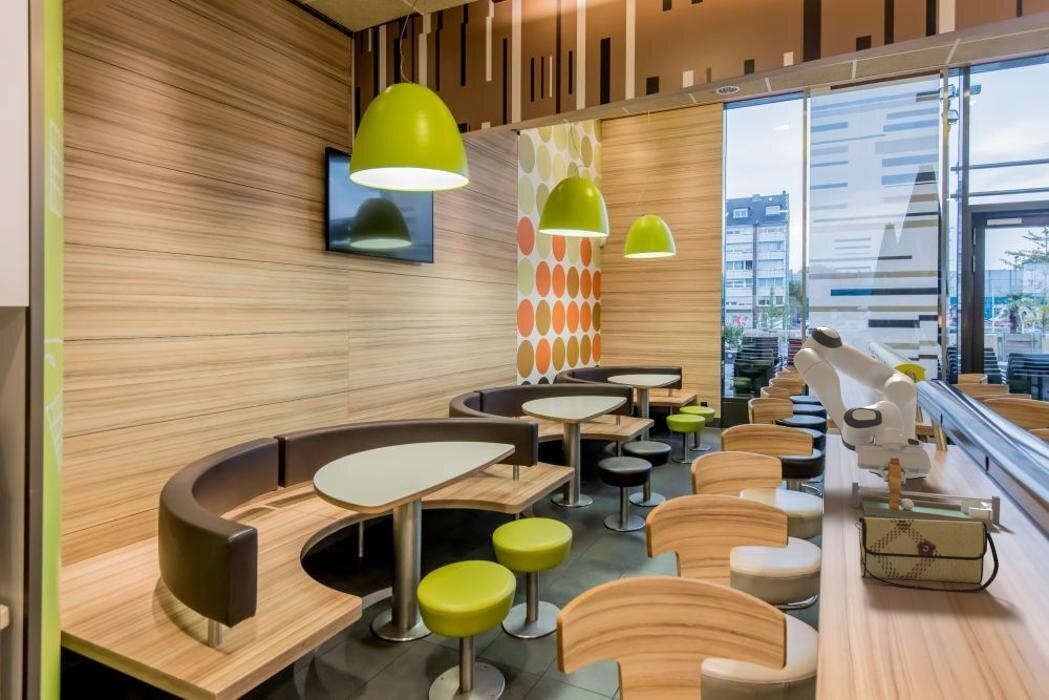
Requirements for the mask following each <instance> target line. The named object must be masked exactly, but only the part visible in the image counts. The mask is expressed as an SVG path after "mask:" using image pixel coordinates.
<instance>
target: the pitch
mask: <svg viewBox="0 0 1049 700" xmlns="http://www.w3.org/2000/svg"><path fill="white" fill-rule="evenodd" d="M851 485H852V486H851V508H853V509H859V491H863V492H874V493H884V494H885V493H886V494H889V493H890V489H889V488H882V487H881V488H878V487H869V486H861V485H860V486H859V482H854V481H853V482H852V483H851ZM899 495H905V496H915V497H925V498H933V499H934V498H935V499H943V500H945V499H946V500H954V501H955V500H956V501H960V504H955V503H946V502H945V503H944V502H936V501H935V502H934V501H928V500H927V501H925V500H916V499H910V500H911V501H912V502H913V503H914V507H913V509H911V510H905V509H903V508H902V507H901V505H900V502H901V500H903V499H904V498H899V509H894V508H890V506H889V504H888V502H889V496H888V497H886V496H877V495H876V496H875V495H868V494H866V495H865V494H861V495H860V496H861V498H860V501H861V502H862V503H861V504H862V508H863V511H864V514H865V515H866V516H873V515H875V516H874V517H882V516H884V517H883V518H890V517H891V518H893V519H918V520H942V521H967V522H984V523H985V524H986V526H987V529H989V530H992V529H993V524H995V525H1000V516H1001V515H1000V514H1001V513H1000V511H1001V497H1000V496H997V495H991V498H984V497H972V496H963V495H953V494H942V493H941V494H940V493H933V492H922V491H910V490H899ZM988 504H991V507H990V506H989V505H988Z"/></svg>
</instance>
